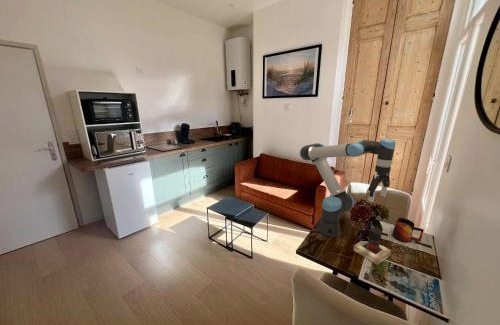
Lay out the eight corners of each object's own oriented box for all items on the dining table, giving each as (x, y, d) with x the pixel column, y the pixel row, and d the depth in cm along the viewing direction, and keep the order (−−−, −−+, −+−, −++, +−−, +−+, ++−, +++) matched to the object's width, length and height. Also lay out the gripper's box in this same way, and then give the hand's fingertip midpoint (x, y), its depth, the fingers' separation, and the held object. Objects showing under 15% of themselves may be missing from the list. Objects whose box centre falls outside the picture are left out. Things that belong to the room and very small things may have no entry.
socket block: (353, 250, 123) (354, 245, 122) (366, 242, 130) (367, 237, 129) (377, 265, 111) (378, 259, 110) (390, 255, 118) (391, 250, 117)
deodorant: (363, 249, 122) (367, 228, 118) (371, 248, 124) (376, 226, 119) (371, 256, 117) (375, 234, 113) (379, 255, 118) (384, 232, 114)
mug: (421, 243, 128) (425, 227, 125) (397, 242, 129) (401, 225, 126) (410, 234, 137) (414, 218, 134) (389, 233, 139) (392, 217, 135)
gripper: (378, 171, 109) (371, 206, 115) (400, 164, 122) (393, 196, 128) (364, 167, 116) (359, 201, 122) (387, 161, 128) (381, 192, 134)
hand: (376, 198), depth 125 cm, fingers open, 13 cm apart
